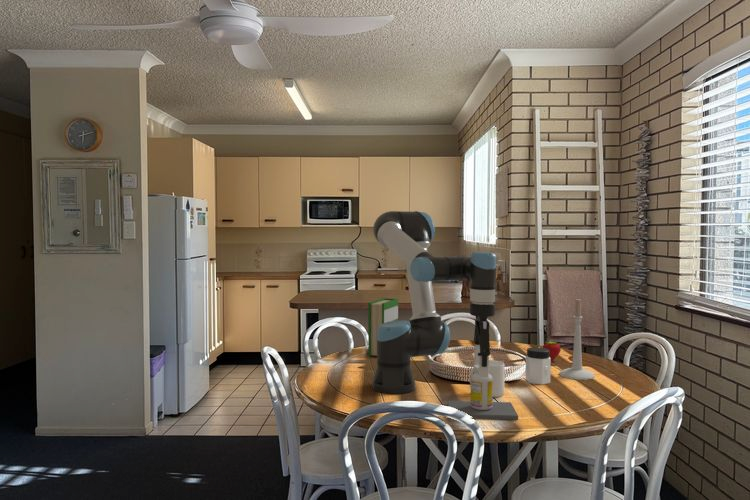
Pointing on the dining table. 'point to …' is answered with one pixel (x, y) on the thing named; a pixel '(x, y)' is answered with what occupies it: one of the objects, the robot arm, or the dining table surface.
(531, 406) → the dining table surface
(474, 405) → the supplement bottle
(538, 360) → the jar
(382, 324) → the robot arm
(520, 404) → the dining table surface
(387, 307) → the hardback book
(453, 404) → the mat
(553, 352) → the strawberry
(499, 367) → the mug
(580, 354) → the candlestick
